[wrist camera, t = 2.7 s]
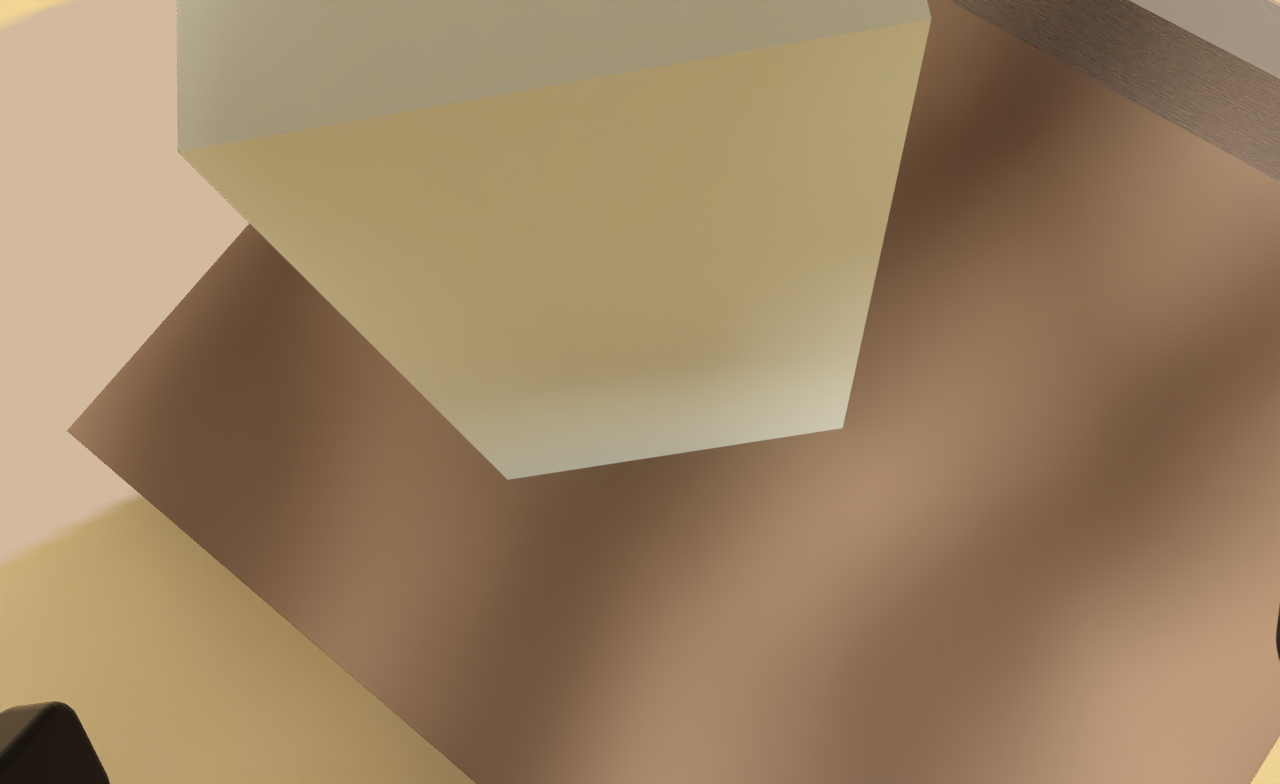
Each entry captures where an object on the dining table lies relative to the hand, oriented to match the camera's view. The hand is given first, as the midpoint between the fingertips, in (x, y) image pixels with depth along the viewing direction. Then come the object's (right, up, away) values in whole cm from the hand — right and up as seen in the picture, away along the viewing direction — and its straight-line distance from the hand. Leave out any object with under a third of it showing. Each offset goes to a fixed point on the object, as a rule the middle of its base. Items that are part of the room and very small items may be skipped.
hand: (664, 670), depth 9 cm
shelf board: (+3, +2, +14) cm, 14 cm away
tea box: (0, +3, +13) cm, 13 cm away
